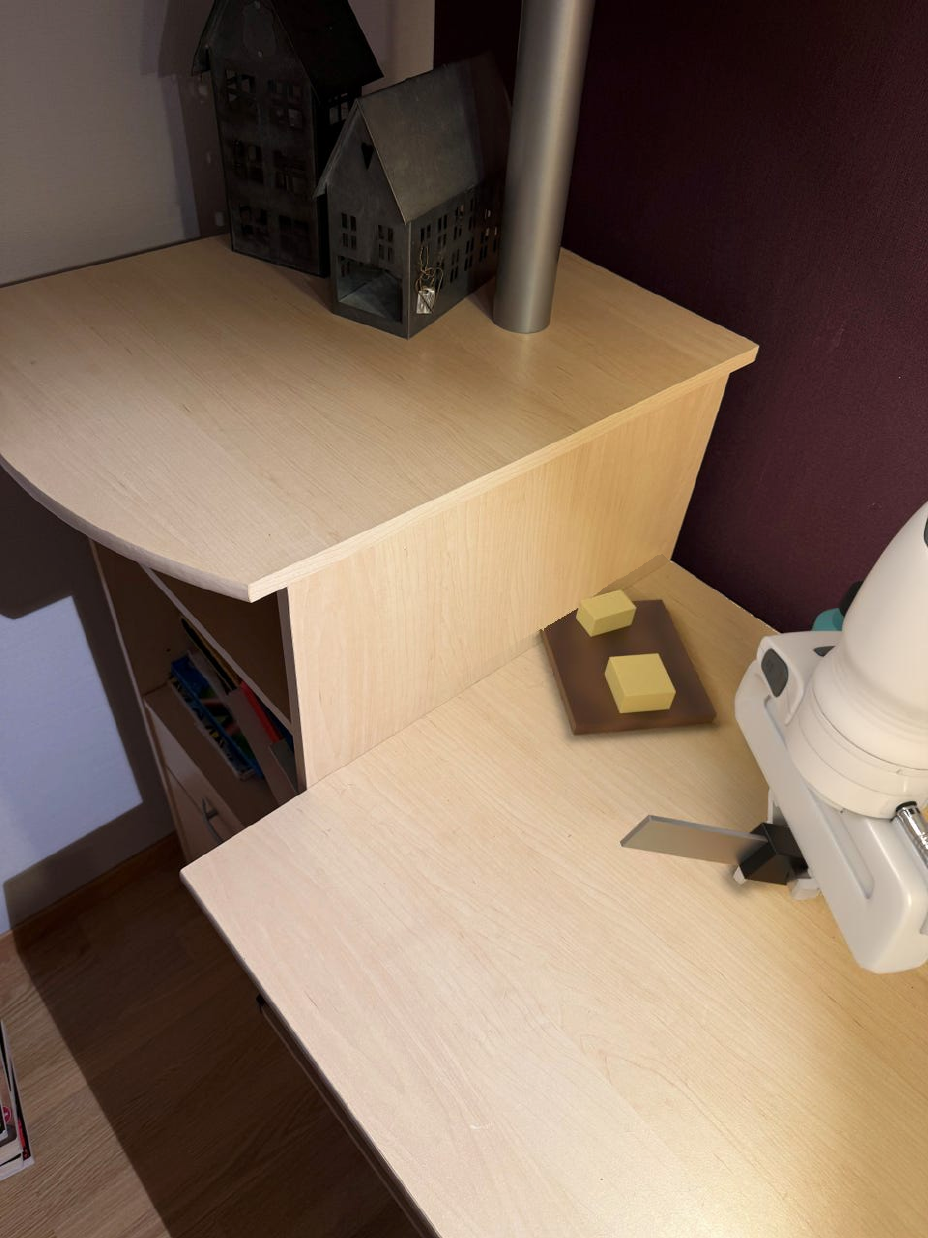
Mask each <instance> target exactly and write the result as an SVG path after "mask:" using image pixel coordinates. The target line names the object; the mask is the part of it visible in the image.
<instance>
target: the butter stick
mask: <svg viewBox="0 0 928 1238" xmlns="http://www.w3.org/2000/svg"><path fill="white" fill-rule="evenodd" d="M605 677H606V679H607V682H608V684H609V687H610V689H611V692H612V694H613V697H614V699H615V702H616V705H617V707H618V710H619V712H620V713H629V712H640V711H651V710H663V709H669V708H670V706H671V703H672V701H673V698H674V695H675V693H676V691H675V689H674V687H673V685H672V682H671V680H670V678H669V676H668V674H667V672H666V669H665V667H664V665H663V663H662V661H661V659H660V656H659V654H658V653H656V654H643V655H630V656H617V657H610V658H609V661H608V664H607V668H606V671H605Z"/></svg>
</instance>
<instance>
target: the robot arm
mask: <svg viewBox="0 0 928 1238" xmlns="http://www.w3.org/2000/svg"><path fill="white" fill-rule="evenodd" d="M863 581H864V583H863V584H862V586H861V588H860V589H859V591H858V593H857V595H856V596H855V598H854V600H853V602H852V604H851V606H850V607H849V609H848V611H847V613H846V616H845V619H844V622H843V626H842V631H811V630H806V631H805V630H804V631H793V632H784V633H777V634H771V635H766V636H763V637H762V639H761V640H760V642H759V644H758V647H757V650H756V655H755V656H756V658H755V659H754V660H753V661H752V662H750V664H749V666H748V667H747V669H746V671H745V672H744V675H743V677H742V679H741V681H740V683H739V685H738V687H737V690H736V693H735V695H734V701H733V706H734V708H733V710H734V718H735V721H736V724H737V725H738V726H739V729H740V731H741V733H742V735H743V737H744V739H745V741H746V743H747V745H748V747H749V749H750V750H751V753H752V755H753V757H754V759H755V761H756V763H757V765H758V768H759V769H760V771H761V773H762V775H763V777H764V780H765V782H766V783H767V786H768V788H769V790H768V791H767V821H766V823H770V824H775V825H780V826H785V827H789V828H790V830H791V832H792V834H793V836H794V838H795V840H796V842H797V844H798V846H799V848H800V850H801V852H802V854H803V856H804V858H805V860H806V862H807V864H808V866H809V867H806V868H805V869H804V868H802V867H801V868H793V869H792V870H791V871H790V873H789V874H788V877H786V879H785V882H786V884H787V886H786V887H787V888H788V890H789V893H790V895H791V897H792V899H793V901H796V902H799V901H806V900H807V901H808V900H813V899H815V898H817V897H818V896H819V895H820V894H822V897H823V899H824V901H825V903H826V905H827V907H828V909H829V911H830V913H831V915H832V917H833V919H834V921H835V924H836V926H837V927H838V929H839V931H840V933H841V935H842V937H843V939H844V942H845V943H846V946H847V947H848V949H849V952H850V953H851V956H852V958H853V960H854V962H855V964H856V965H857V966H858V967H859V968H861V969H862V970H865V971H867V972H870V973H873V974H875V975H876V974H877V975H883V974H885V975H886V974H893V973H899V972H901V973H902V972H906V971H911V970H915V969H917V968H919V967H921V966H923V965H925V963H926V962H927V961H928V822H927V820H926V818H925V817H924V815H923V813H922V811H923V810H924V809H925V808H926V807H928V500H927V501H925V503H923V505H921V507H919V508H918V509H917V511H916V512H915V513H914V514H912V516H911V517H910V518H909V519H908V520H907V521H906V523H905V524H904V525H903V526H902V527H901V528H900V529H899V530H898V532H897V533H896V534H895V536H894V537H893V538H892V539H891V541H890V542H889V544H888V545H887V546H886V548H885V549H884V550H883V552H882V553H881V554H880V556H879V558H877V560H876V562H875V564H874V565H873V567H872V568H871V569H870V571H869V573H868V574H867V576H866V578H865V579H864V580H863Z"/></svg>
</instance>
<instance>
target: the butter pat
mask: <svg viewBox="0 0 928 1238" xmlns="http://www.w3.org/2000/svg"><path fill="white" fill-rule="evenodd" d="M631 601H632V600H631V599H630V598H629V597H628V596H627V595H626V593H625V592H624V591H623V590H622V589H621V588H620V589H617V590H613V591H610V592H605V593H602V594H599V595H594V596H591V597H587V598H584V599H580V600H579V603H578V604H579V608H578V612H577V616H576V618H577V620H578V621H579V622H580V624H581V625H582V626H583V627H584V629H585V630H586V631H587V633H588V634H589V635H590V636H591V637H592V636H595V635H599V634H602V633H605V632H609V631H612V630H615V629H619V628H622V627H625V626H629V625H631V624H632V620H633V617H634V614H635V611H636V607H635V605H634V604H633V603H632V602H631Z"/></svg>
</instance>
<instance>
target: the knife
mask: <svg viewBox="0 0 928 1238" xmlns="http://www.w3.org/2000/svg"><path fill="white" fill-rule="evenodd" d="M619 844H620V847H621V848H625V849H632V850H639V851H645V852H650V853H657V854H661V855H662V854H663V855H669V856H675V857H682V858H687V859H693V860H699V861H706V862H711V863H717V864H724V865H730V866H737V867H740V870H741V872H742V874H743V876H744V879H746V880H747V881H753V882H759V883H767V884H772V885H780V886H786V887H788V886H787V884H786V882H785V879H786V877H788V874H789V873H790V871H791V870H792V869H793V868H801V867H802V868H804V869H805V868H806V867H809V866H808V864H807V862H806V860H805V858H804V856H803V854H802V852H801V850H800V848H799V846H798V844H797V842H796V840H795V838H794V836H793V834H792V832H791V830H790V828H789V827H785V826H780V825H775V824H770V823H767V822H764V821H762V822H761V823H759V824H758V825H757V826H755V827H754V828H753V829H752V830H750V831H749V832H743V831H740V830H739V831H738V830H735V829H734V830H733V829H727V828H723V827H718V826H712V825H708V824H707V825H706V824H703V823H702V824H701V823H696V822H691V821H685V820H681V819H675V818H669V817H664V816H658V815H654V814H648V815H646V816H645V818H643V819H642V820H641V821H640V822H639V823H638V824H637V825H635V827H633V828H632V829H631V830H630V831H629V832H628V833H627V834H626V835H625V836H624V837H623V838H622V839H621V840H619Z"/></svg>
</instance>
